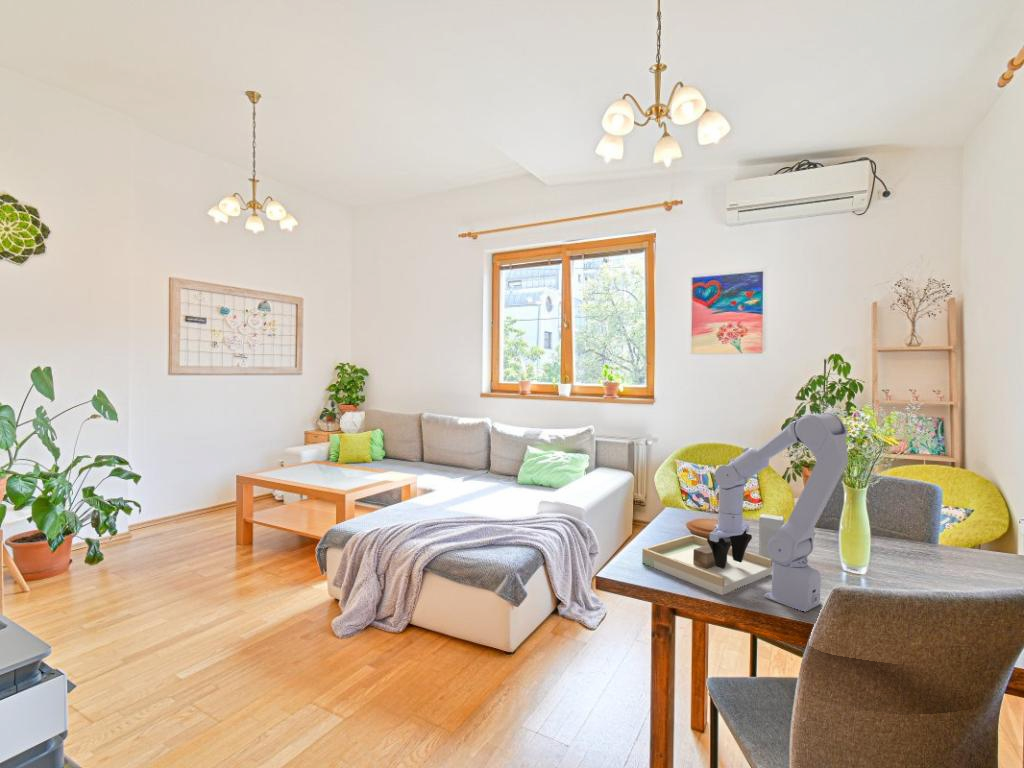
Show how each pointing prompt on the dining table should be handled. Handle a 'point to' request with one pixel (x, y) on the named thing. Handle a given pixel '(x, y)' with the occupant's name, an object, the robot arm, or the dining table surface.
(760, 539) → the skincare box
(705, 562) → the walnut block
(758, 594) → the dining table surface
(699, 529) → the pie
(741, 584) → the shallow cream tray
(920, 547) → the dining table surface
